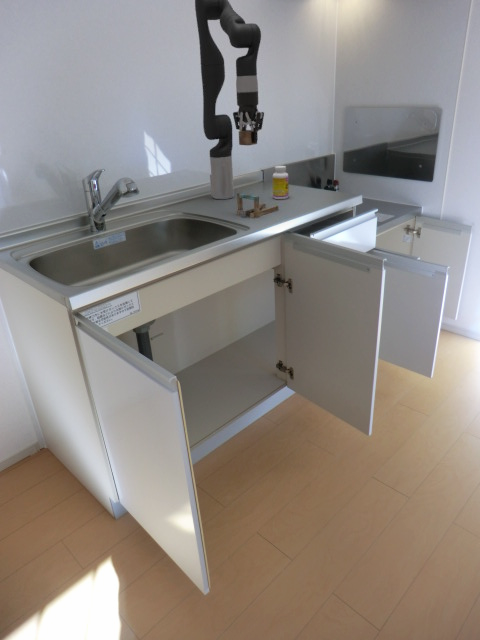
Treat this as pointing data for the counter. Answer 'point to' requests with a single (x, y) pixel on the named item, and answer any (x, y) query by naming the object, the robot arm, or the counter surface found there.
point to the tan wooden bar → (248, 211)
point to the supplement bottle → (280, 183)
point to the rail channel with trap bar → (256, 205)
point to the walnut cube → (245, 138)
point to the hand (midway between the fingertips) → (249, 142)
